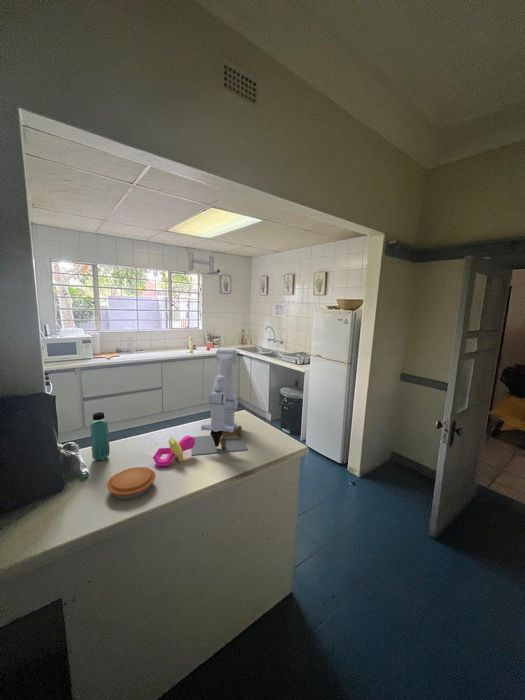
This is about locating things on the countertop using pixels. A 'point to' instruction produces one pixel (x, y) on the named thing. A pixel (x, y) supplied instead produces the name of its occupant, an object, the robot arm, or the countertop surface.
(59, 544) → the countertop surface
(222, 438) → the fence hinged
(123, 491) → the pie
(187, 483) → the countertop surface
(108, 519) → the countertop surface
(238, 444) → the card
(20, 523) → the countertop surface
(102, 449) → the beverage bottle
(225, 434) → the fence fixed
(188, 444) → the toy
